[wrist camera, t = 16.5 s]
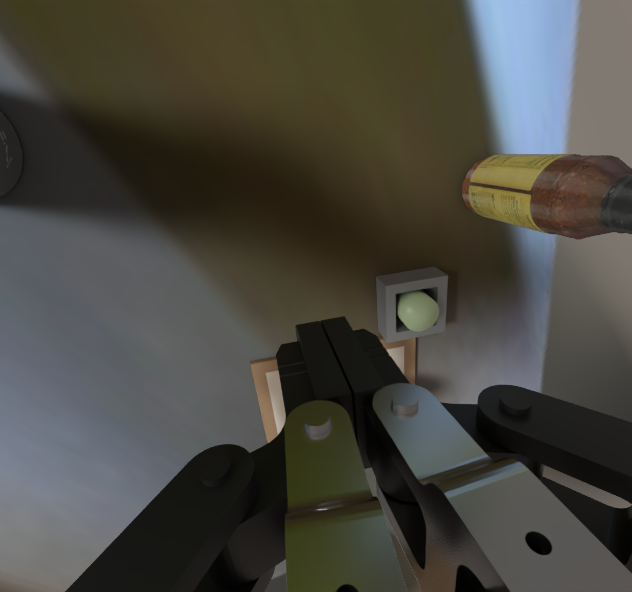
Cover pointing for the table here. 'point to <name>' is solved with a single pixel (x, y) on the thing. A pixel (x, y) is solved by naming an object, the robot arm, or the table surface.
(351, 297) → the table surface
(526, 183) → the sauce bottle
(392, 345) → the clipboard
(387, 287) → the button housing
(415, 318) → the button
